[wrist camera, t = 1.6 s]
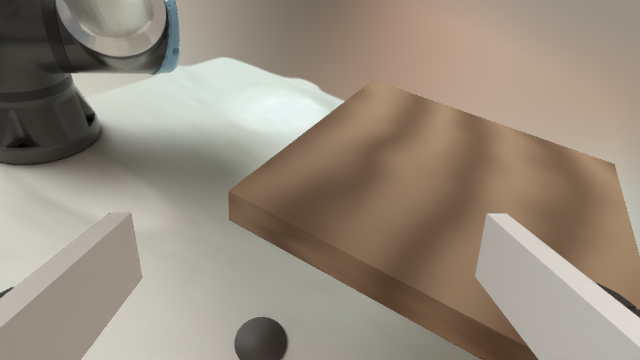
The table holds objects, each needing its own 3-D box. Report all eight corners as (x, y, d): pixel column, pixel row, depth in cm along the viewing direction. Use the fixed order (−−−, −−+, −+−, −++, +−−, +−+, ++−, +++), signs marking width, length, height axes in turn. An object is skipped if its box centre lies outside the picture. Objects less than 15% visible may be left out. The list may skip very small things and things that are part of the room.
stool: (223, 349, 34) (216, 192, 22) (337, 208, 52) (369, 78, 39) (479, 527, 27) (691, 443, 14) (509, 291, 44) (614, 164, 32)
